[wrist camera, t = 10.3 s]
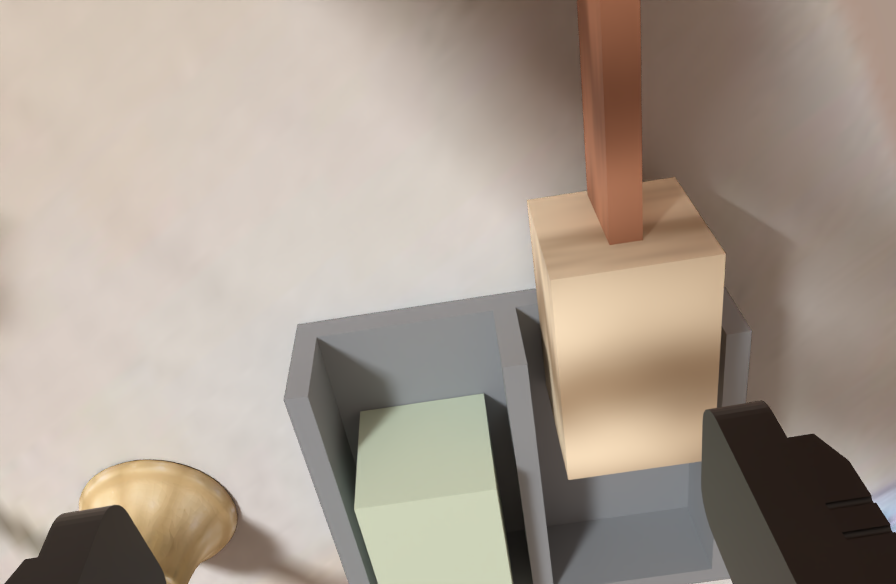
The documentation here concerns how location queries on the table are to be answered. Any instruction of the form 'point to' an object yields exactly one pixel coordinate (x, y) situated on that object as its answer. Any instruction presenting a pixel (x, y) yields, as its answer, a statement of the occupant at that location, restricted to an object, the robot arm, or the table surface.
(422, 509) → the sage block
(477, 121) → the table surface
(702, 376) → the wooden handled block
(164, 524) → the hand bell
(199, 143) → the table surface
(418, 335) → the lane shelf
